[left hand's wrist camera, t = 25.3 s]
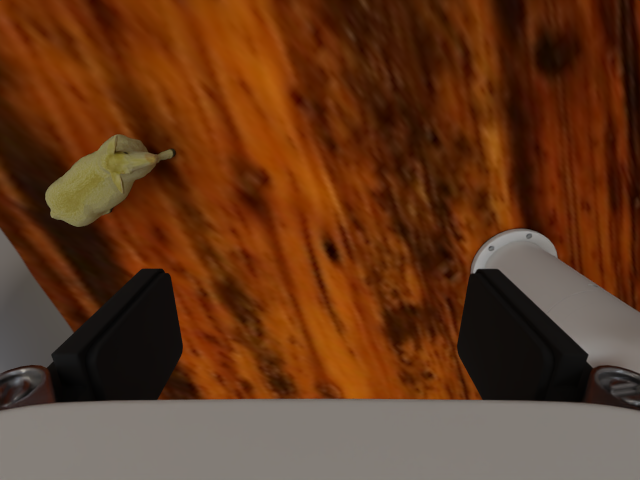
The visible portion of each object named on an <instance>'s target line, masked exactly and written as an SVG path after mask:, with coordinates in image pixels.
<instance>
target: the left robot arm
mask: <svg viewBox="0 0 640 480" xmlns="http://www.w3.org/2000/svg"><path fill="white" fill-rule="evenodd" d="M182 349H183V344H182V338H181V332H180V327H179V321H178V315H177V310H176V304H175V298H174V293H173V287H172V281H171V277H170V275H169V274H168V273H165V272H164V270H163V269H141V270H140V271H139V272H138V273H137V274H136V275H135V276H134V277H133V278H132V279H131V280H129V281H128V282H127V283H126V284H125V285H124V286H123V287H122V288H121V289H120V290H119V291H118V292H117V293H116V294H115V295H114V296H113V297H112V298H110V299H109V300H108V301H107V302H106V303H105V304H104V305H103V306H102V307H101V308H100V309H99V310H98V311H97V312H96V313H95V314H94V315H93V316H91V317H90V318H89V319H88V320H87V321H86V322H85V323H84V324H83V325H82V326H81V327H80V328H79V329H78V330H77V331H76V332H75V333H74V334H72V336H70V337H69V338H68V339H67V340H66V341H65V342H64V343H63V344H62V345H61V346H60V347H59V348H58V349H57V350H56V351H55V352H53V353H52V358H53V362H52V363H51V364H50V365H49V366H48V367H47V368H45V367H43V366H38V365H29V366H22V367H18V368H14V369H11V370H8V371H5V372H3V373H1V374H0V480H640V312H638V311H637V310H635V309H633V308H632V307H630V306H629V305H627V304H626V303H624V302H622V301H621V300H619V299H618V298H616V297H615V296H613V295H612V294H610V293H609V292H607V291H606V290H604V289H603V288H601V287H600V286H598V285H597V284H595V283H594V282H592V281H591V280H589V279H588V278H586V277H585V276H583V275H582V274H580V273H579V272H577V271H576V270H574V269H573V268H571V267H570V266H568V265H567V264H565V263H564V262H562V261H561V260H559V259H558V257H557V252H556V249H555V247H554V245H553V244H552V243H551V241H550V240H549V239H547V238H546V237H545V236H543V235H542V234H540V233H538V232H536V231H533V230H530V229H512V230H508V231H505V232H502V233H500V234H497V235H496V236H494V237H492V238H491V239H489V240H488V241H487V242H486V243H485V244H484V245H483V246H482V247H481V248H480V249H479V251H478V252H477V254H476V256H475V257H474V260H473V263H472V267H471V275H470V277H469V281H468V287H467V293H466V298H465V304H464V310H463V315H462V321H461V327H460V332H459V338H458V344H457V349H458V354H459V357H460V359H461V360H462V362H463V364H464V366H465V368H466V370H467V372H468V373H469V375H470V377H471V379H472V381H473V383H474V384H475V386H476V388H477V390H478V392H479V394H480V395H481V397H482V399H483V400H409V399H223V400H157V399H158V397H159V395H160V394H161V392H162V390H163V388H164V386H165V384H166V383H167V381H168V379H169V377H170V375H171V373H172V372H173V370H174V368H175V366H176V364H177V362H178V360H179V359H180V357H181V354H182Z"/></svg>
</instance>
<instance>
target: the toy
mask: <svg viewBox="0 0 640 480" xmlns="http://www.w3.org/2000/svg"><path fill="white" fill-rule="evenodd" d="M174 156H175V150H174V149H169V150H166V151H165V152H161V153H160V154H158V155H156V154H151V153H148V151H147V149H146V147H145V146H144V145H143V143H142V142H141V141H140V140H136V139H131V138H128V137H126V136H124V135H120V134H119V135H115V136H113V137H111V138H109V139H108V140H107V141H106V142H105V143H104V144H103V145H102V146H101V147H100V149H99V150H98V151H96V152H94V153H92V154H89V155H87V156H85V157H83V158H81V159H80V160H79V161H78V162H76V163H75V164H74V165H73V166H72V168H71V169H70V170H69V171H68V172H67V173H65V175H64V176H63V177H61V178H59V179H58V180H57V181H55V182H54V183H53V184H52V185H51V186H50V187H49V188H48V190H47V192H46V202H47V204H48V205H49V207H50V208H51V212H50V214H51V217H52V218H55V219H57V220H60V219H61V220H64V221H65V222H67V223H69V224H71V225H74V226H77V227H80V226H85V225H88V224H90V223H92V222H93V221H95V220H96V219H97V218H99V217H100V216H101V215H104V214H108V213H110V212H111V211H112V208H113V207H114V206H116V205H117V204H119V203H120V202H122V201H123V200H124V199H125V198H126V197H127V195H128V194H129V192H130V190H131V188H132V185H133V183H134V181H135V180H136V179H140V178H142V177H144V176H145V175H146V174H148V173H149V172H150V171H151V170H152V169H153V168H154V167H155V165H156V163H158V162H159V161H160V160H165V159H169V158H172V157H174Z"/></svg>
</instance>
